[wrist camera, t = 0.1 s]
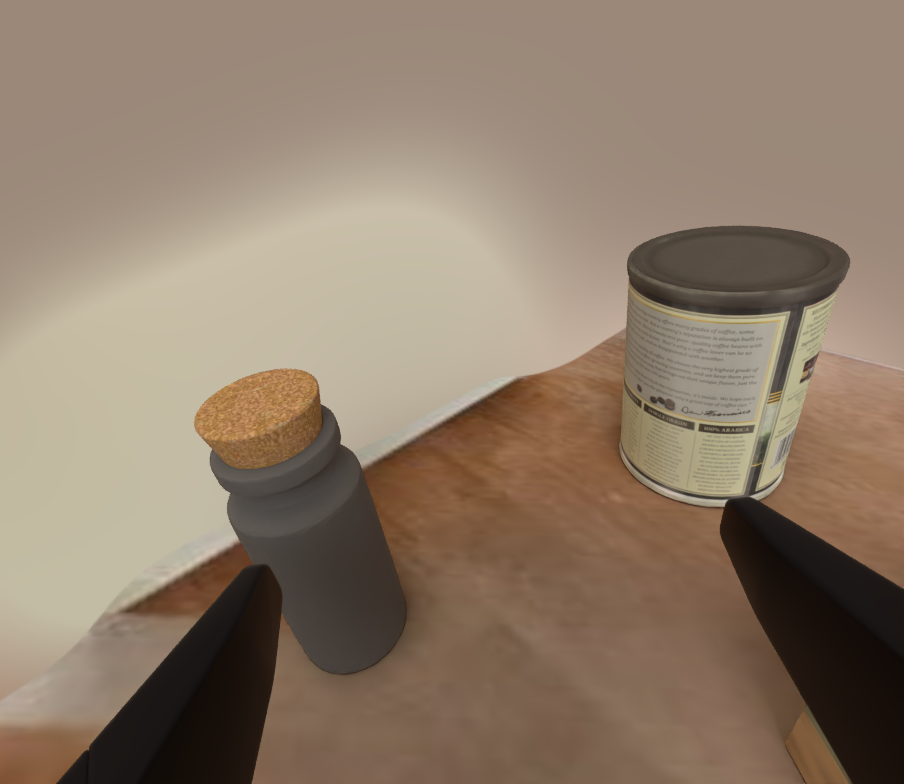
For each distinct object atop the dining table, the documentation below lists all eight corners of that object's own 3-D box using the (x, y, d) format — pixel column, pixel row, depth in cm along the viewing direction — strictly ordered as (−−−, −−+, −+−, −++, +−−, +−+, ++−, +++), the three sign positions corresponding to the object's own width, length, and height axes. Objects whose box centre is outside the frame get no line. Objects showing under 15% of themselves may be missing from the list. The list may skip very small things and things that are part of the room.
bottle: (301, 691, 24) (158, 468, 16) (303, 591, 29) (194, 380, 21) (416, 654, 25) (335, 422, 17) (399, 563, 30) (330, 348, 22)
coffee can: (623, 403, 39) (633, 228, 32) (771, 416, 36) (824, 220, 28) (610, 495, 32) (620, 292, 24) (798, 523, 28) (881, 293, 20)
